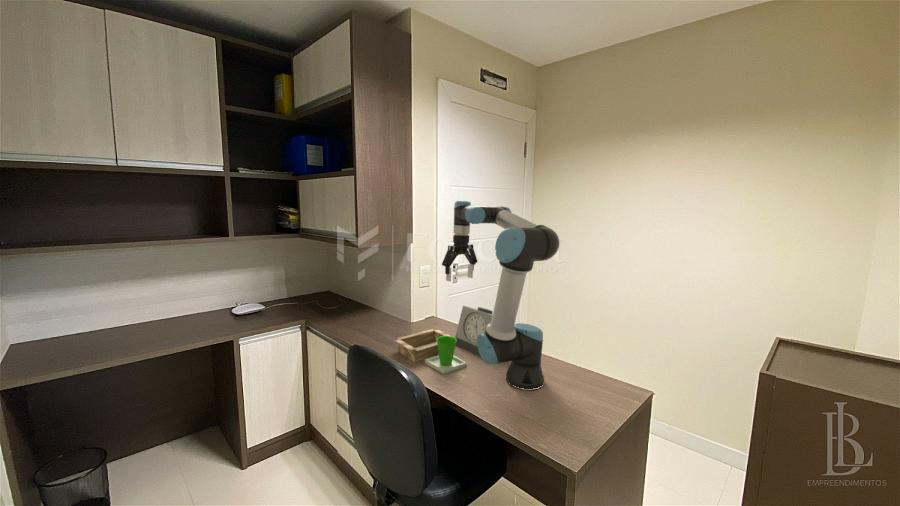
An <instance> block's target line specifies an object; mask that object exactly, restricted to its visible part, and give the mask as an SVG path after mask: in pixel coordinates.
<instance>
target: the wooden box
mask: <svg viewBox="0 0 900 506" xmlns="http://www.w3.org/2000/svg"><path fill="white" fill-rule="evenodd" d="M440 336H451V334H448V333H446V332H444V331H442V330H440V329H433V328H431V329H428V330H427V329H426V330H423V331H420V332H416V333H412V334H408V335H404V336H398V337H396V339H395V340H394V342H395V343H397V344H398V348H397V349H398V353H400V354H402V355H403V356H404V357H406V358H407V359H409V360H411V361H412V362H413V363H414V362H418V361H421V360H425V359H428V358H431V357H434V356H438V355H439V352H438V344H437V341H436V339H437V338H438V337H440Z"/></svg>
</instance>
